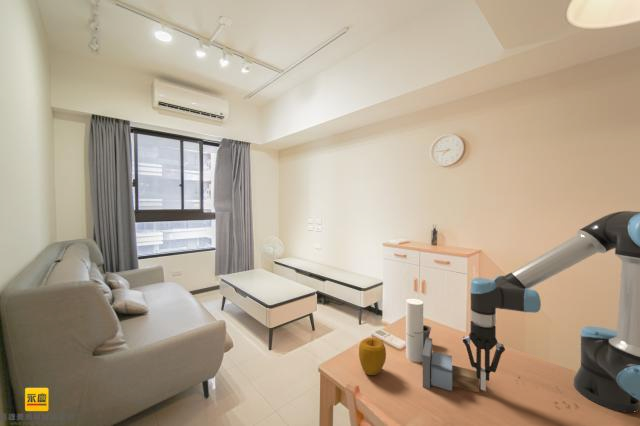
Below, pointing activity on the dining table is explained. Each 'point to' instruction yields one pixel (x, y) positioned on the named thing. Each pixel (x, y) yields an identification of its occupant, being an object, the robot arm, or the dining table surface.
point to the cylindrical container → (414, 330)
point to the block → (441, 370)
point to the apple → (372, 355)
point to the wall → (427, 362)
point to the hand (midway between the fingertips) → (482, 387)
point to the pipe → (426, 333)
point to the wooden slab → (465, 378)
